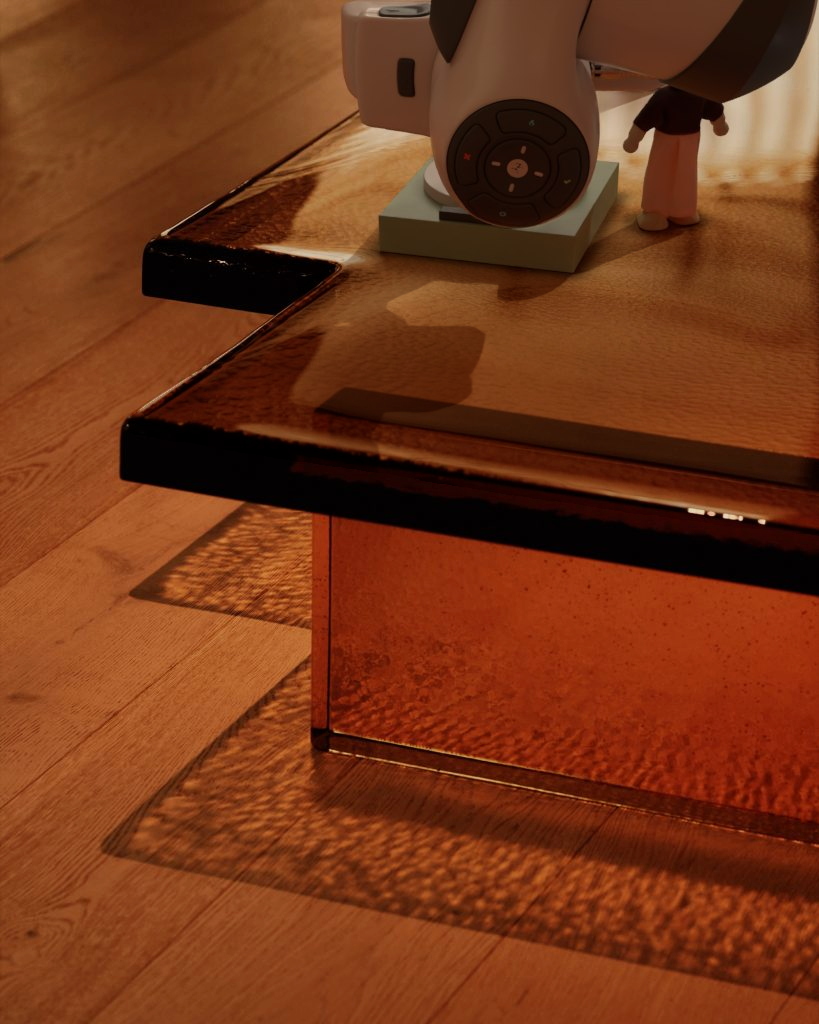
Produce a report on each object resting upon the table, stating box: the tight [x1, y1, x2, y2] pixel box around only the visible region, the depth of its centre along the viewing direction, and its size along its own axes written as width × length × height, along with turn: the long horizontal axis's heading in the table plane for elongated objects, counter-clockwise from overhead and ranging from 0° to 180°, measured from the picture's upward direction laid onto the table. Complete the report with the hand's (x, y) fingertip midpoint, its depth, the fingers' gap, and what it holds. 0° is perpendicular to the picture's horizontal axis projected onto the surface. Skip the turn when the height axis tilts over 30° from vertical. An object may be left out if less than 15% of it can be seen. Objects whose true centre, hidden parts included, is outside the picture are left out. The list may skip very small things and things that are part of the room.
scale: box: [377, 154, 620, 274], centre depth 108 cm, size 13×14×3 cm
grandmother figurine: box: [622, 85, 730, 232], centre depth 106 cm, size 8×4×13 cm, turn 123°
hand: (505, 8), depth 102 cm, fingers closed on can, 6 cm apart
